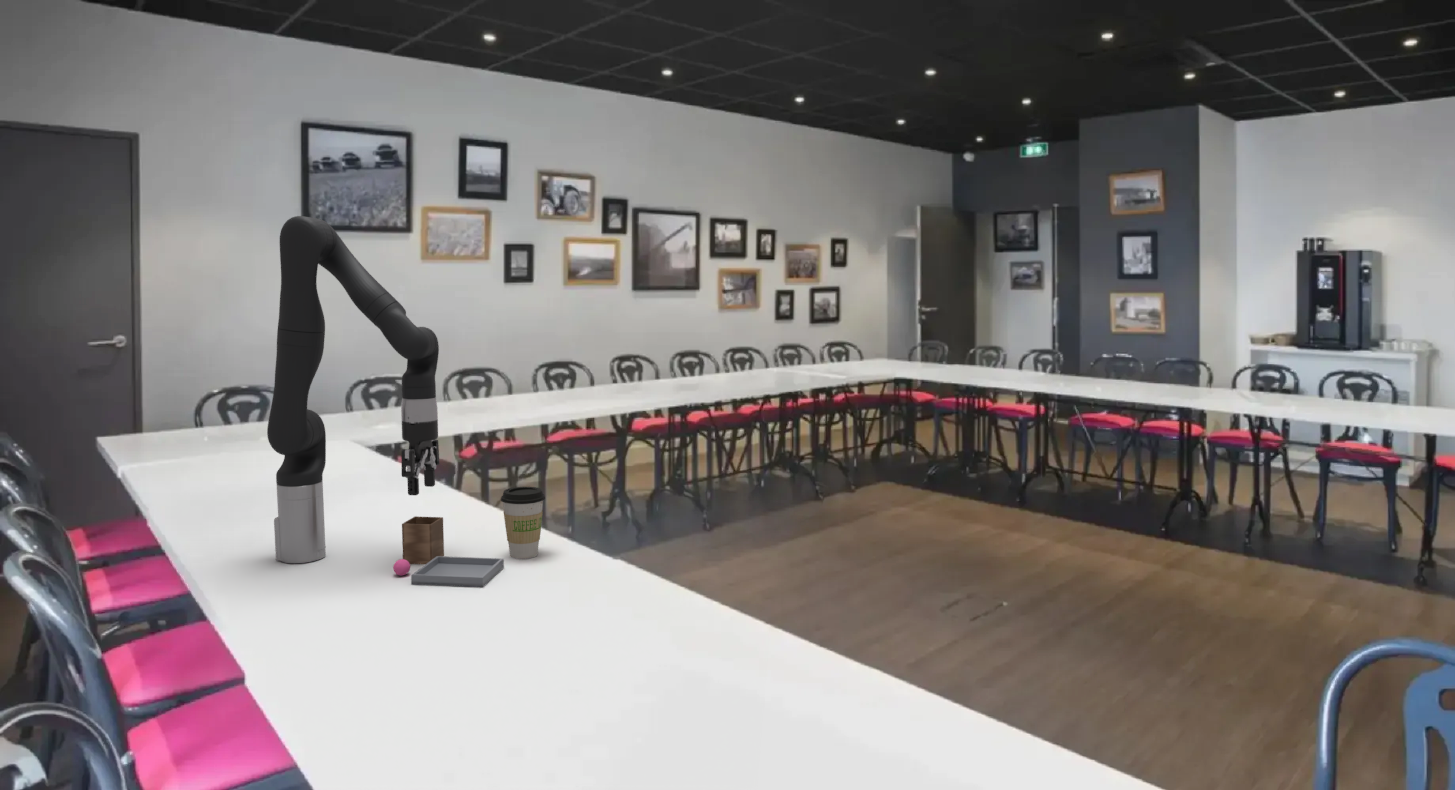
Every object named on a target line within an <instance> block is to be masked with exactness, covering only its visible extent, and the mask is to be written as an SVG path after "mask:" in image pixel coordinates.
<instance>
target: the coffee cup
mask: <svg viewBox="0 0 1455 790" xmlns="http://www.w3.org/2000/svg"><path fill="white" fill-rule="evenodd" d="M545 499H546V496H545V494H544V493H543V489H542V488H540V487H535V486H515V487H511V488H507V489H504V490H503V492H502V495H501V497H500V501H501V502H502V505H503V519H504V525H505V534H506V541H507V544H508V551H509V556H510V558H512V559H516V560H525V559H526V560H527V559H532V558H535V557H537V556H538V553H539V546H540V545H539V544H540V539H541V533H542V532H541V531H542V521H543V514H544V513H543V512H544V510H543V504H544V501H545Z"/></svg>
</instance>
